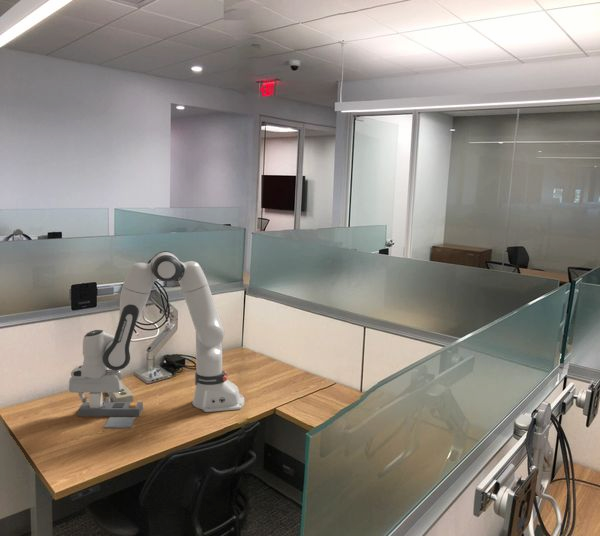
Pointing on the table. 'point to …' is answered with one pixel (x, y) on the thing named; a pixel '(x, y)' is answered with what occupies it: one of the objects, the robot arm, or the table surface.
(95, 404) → the charger
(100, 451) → the table surface
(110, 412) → the power strip
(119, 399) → the electrical outlet
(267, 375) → the table surface
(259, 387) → the table surface
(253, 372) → the table surface
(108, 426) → the mat
